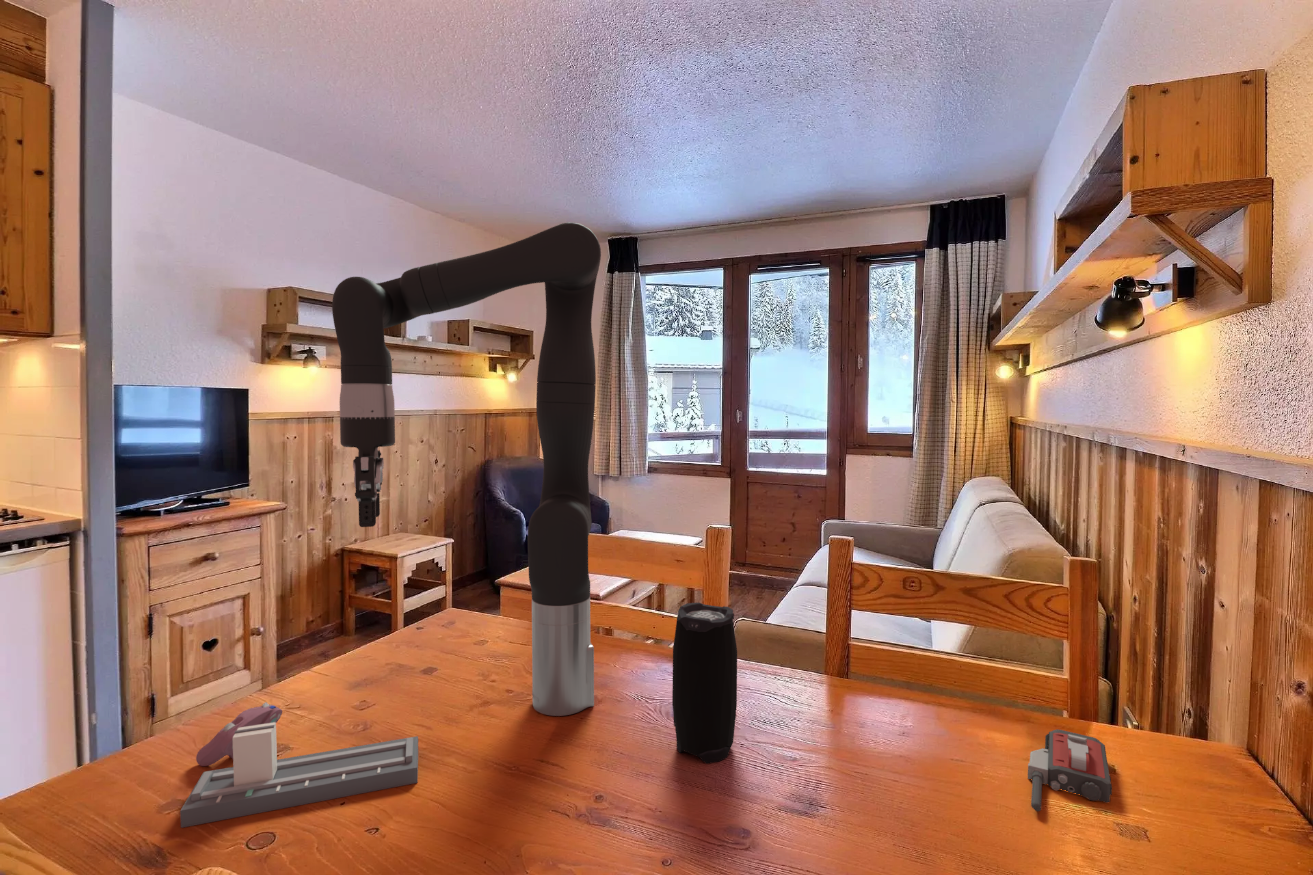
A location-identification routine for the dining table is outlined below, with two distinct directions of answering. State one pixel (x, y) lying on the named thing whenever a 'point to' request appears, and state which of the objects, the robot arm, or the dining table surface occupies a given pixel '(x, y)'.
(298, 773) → the fader console
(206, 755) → the video game controller
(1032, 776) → the walkie-talkie
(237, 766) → the fader tab
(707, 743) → the portable speaker
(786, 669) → the dining table surface
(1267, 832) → the dining table surface
